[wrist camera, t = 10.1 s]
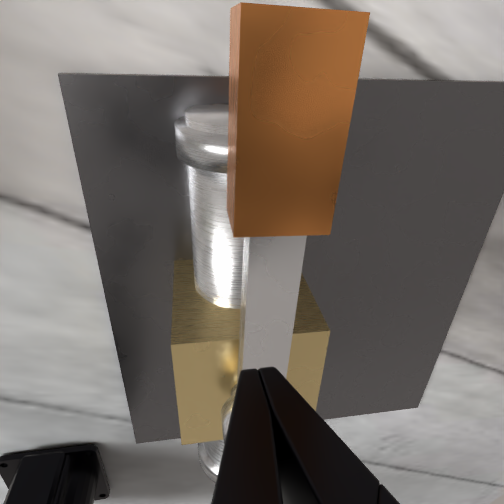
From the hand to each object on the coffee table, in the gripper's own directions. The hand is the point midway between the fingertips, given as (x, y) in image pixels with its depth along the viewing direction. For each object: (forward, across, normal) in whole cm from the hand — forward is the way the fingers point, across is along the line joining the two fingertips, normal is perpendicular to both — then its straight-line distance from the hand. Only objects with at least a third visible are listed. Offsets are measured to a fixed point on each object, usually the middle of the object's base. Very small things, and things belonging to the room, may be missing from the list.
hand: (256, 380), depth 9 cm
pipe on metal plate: (+11, -5, +6) cm, 14 cm away
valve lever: (+4, -1, 0) cm, 4 cm away
